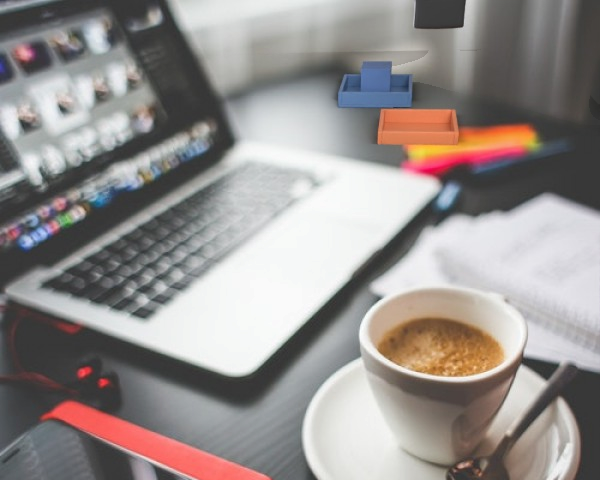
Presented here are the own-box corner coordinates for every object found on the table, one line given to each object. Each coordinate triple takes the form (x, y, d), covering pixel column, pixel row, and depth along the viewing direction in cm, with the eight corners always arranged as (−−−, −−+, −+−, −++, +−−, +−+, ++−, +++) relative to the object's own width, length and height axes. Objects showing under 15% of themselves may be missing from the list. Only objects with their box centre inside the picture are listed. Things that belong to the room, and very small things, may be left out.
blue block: (390, 90, 111) (391, 61, 108) (389, 99, 107) (390, 68, 104) (362, 90, 112) (362, 61, 109) (360, 98, 108) (360, 68, 105)
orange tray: (453, 125, 97) (455, 109, 95) (457, 149, 88) (459, 132, 87) (380, 124, 98) (381, 108, 97) (377, 148, 90) (377, 131, 89)
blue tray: (411, 88, 113) (412, 74, 112) (411, 107, 104) (412, 92, 103) (344, 88, 115) (344, 74, 114) (338, 107, 106) (338, 92, 105)
